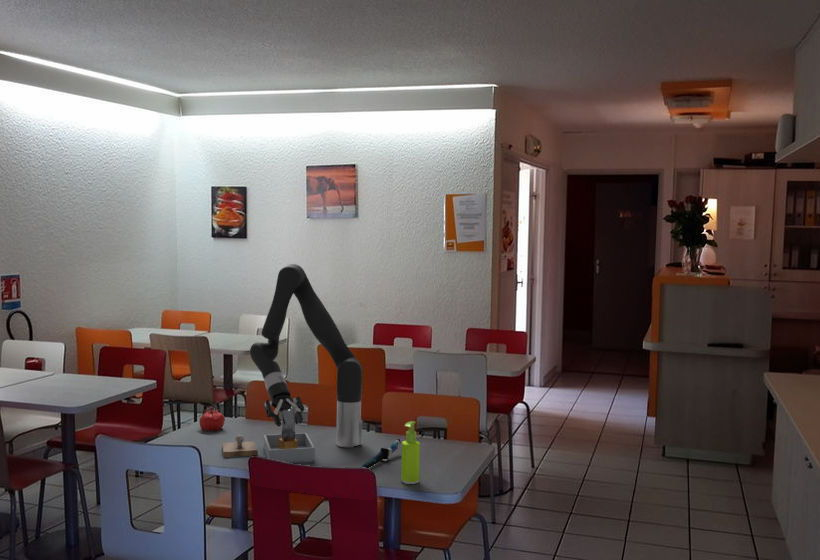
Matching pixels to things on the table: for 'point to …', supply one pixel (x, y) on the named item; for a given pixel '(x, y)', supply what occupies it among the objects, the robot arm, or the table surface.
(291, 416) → the strut
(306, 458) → the bin
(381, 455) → the knife
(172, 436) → the table surface
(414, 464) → the soap dispenser
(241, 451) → the stud block
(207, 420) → the red tomato
